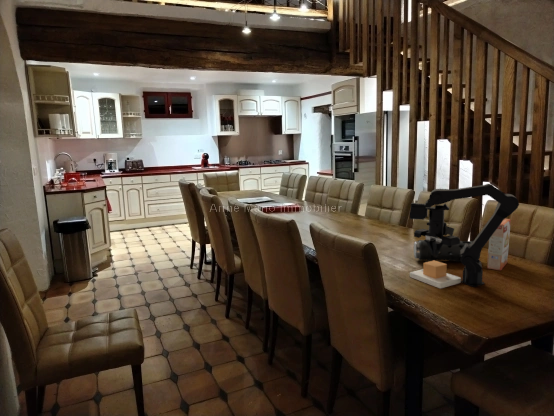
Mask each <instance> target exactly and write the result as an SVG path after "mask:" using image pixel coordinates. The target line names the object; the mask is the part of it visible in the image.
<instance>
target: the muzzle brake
mask: <svg viewBox="0 0 554 416" xmlns="http://www.w3.org/2000/svg"><path fill="white" fill-rule="evenodd" d="M424 240H425V239H420V240H418V241H414V242H413V257H414V259H418V260H420V261H427V262H429V261H433V260H435V261H448V262H457V263H458V262H459V263H461V260H460V250H461V249H463V247H464V245H465V243H467V244H468V245H469V244H471V243H472V242H473V241H474V240H471V241H470V240H469V241H468V240H460V244H456V245H452V246H448V245H444V244H443V245H442V247H441V249H440V251H439V253H438V256H437V257H434V256H433V254H432V252H431V250H430V248H429V246H428V245H427V243H426V242H425V241H424ZM480 257H481V255H480V256H479V258H478V259H479V260H480V259H481V258H480Z"/></svg>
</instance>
